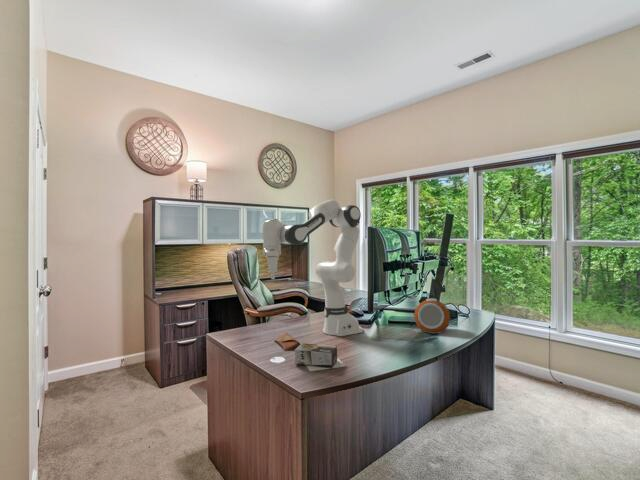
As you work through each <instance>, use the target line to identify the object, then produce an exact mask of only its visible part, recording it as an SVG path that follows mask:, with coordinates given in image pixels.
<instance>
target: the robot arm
mask: <svg viewBox="0 0 640 480" xmlns="http://www.w3.org/2000/svg"><path fill="white" fill-rule="evenodd" d="M361 216H362V215H361V210H360V208H359V207H358V206H357V205H353V204H350V205H347V206H340V203H338V201H337V200H335V199H327V200H325V201H324V200H323V201H322V202H320V203H318V204H316V205H314V206H313V207H312V208H311V209H310V210H309V211H308V218H309V219H307V220H306V221H304V222H302V224H301V223H300V224H293V225H288V224H286V223H283V222H281V221H280V220H279V219H278V218H273V219H272V218H270V219H267V220H265V221H264V222H263V223H262V239H263V242H262V243H263V244H262V254H263V256H265V259H266V260H267V267H268V271H269V273H270V279H271V280H275V279H276V276H275V275H276V272H278V263H279V262H278V260H279V256H280V255H282V247H281V246H282V245H281V244H283V245H292V246H293V245H294V246H299V245H302V244H303V243H304V242H305V241H306V239H307V238H308V237H309V236H310V234H312V233H314V232H315V231H316V230H318V228H319V227H321V226H322V225H324V224H326V223H328V222H329V224H330V225H331V226H332V227H334V228H341V229H340V234H339V235H338V238H337V240H336V243H335V245H334V248H333V253H334V255H335V256H336V257H335V260H334V261H322V262H319V263H318V264H317V265H316V268H315V275H316V277H317V278H318V279H319V280H320V282H321V284H322V287H323V290H324V299H325V300H324V302H325V303H324V305H325V306H324V310H323V311H324V324H323V328H322V332H323V333H324V334H325V335H330V336H331V335H332V336H338V337H343V336H345V337H346V336H349V335H355V334H360V333H363V332H364V329H363V328H362V327H361V326H360V324H359V320H358V319H357V318H356V317H355V316H354V315H352V314H351V313H349V312H351V311H352V308H351V307H350V306H347V305H346V292H345V291H344V290H343V288H342V287H341V285H340V283H350V282H352V281H353V280H354V278H355V276H356V270H355V268H354V266H353V263H352V258H353V255H354V252H355V248H356V247H357V243H358V242H359V241H358V240H359V237H360V228H359V227H358V225H359V224H360V220H361Z"/></svg>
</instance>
